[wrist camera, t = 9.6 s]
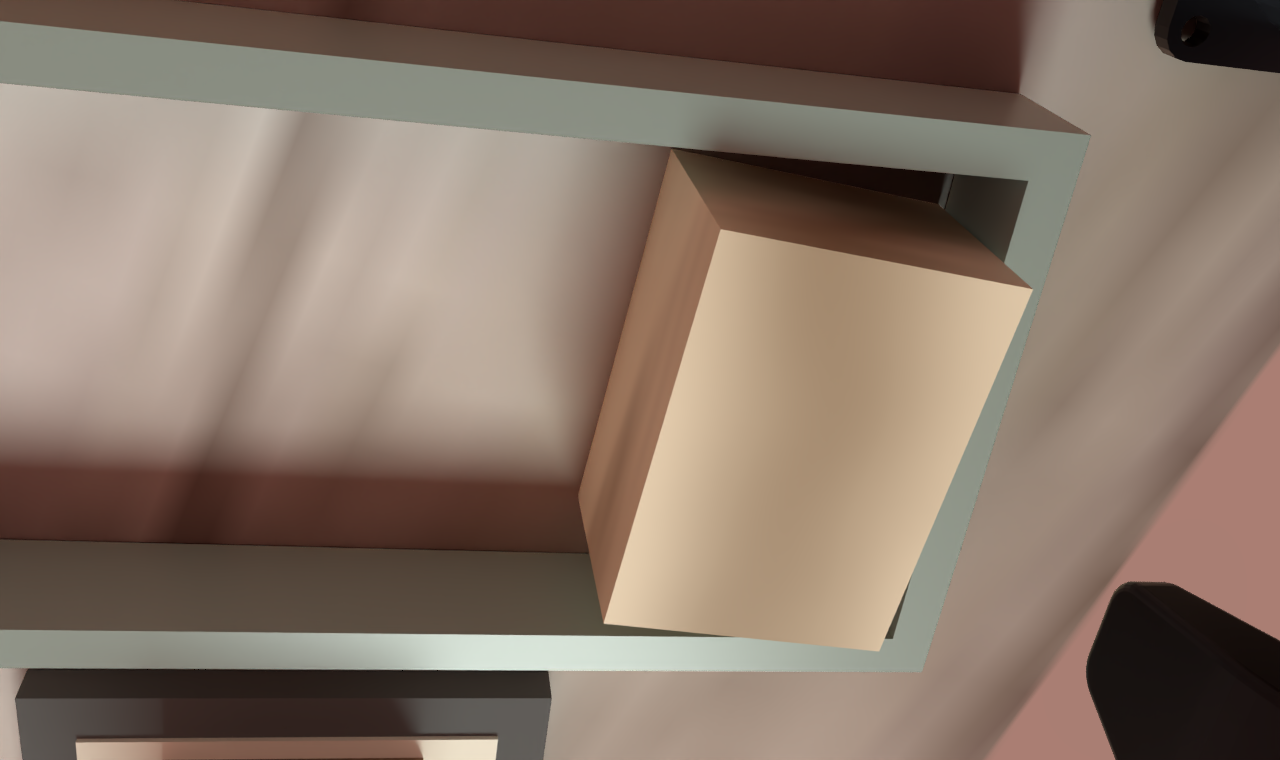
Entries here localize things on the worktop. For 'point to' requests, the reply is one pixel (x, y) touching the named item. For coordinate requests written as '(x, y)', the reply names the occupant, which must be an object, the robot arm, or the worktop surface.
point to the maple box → (787, 404)
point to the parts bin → (527, 103)
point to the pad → (282, 714)
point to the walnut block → (337, 759)
